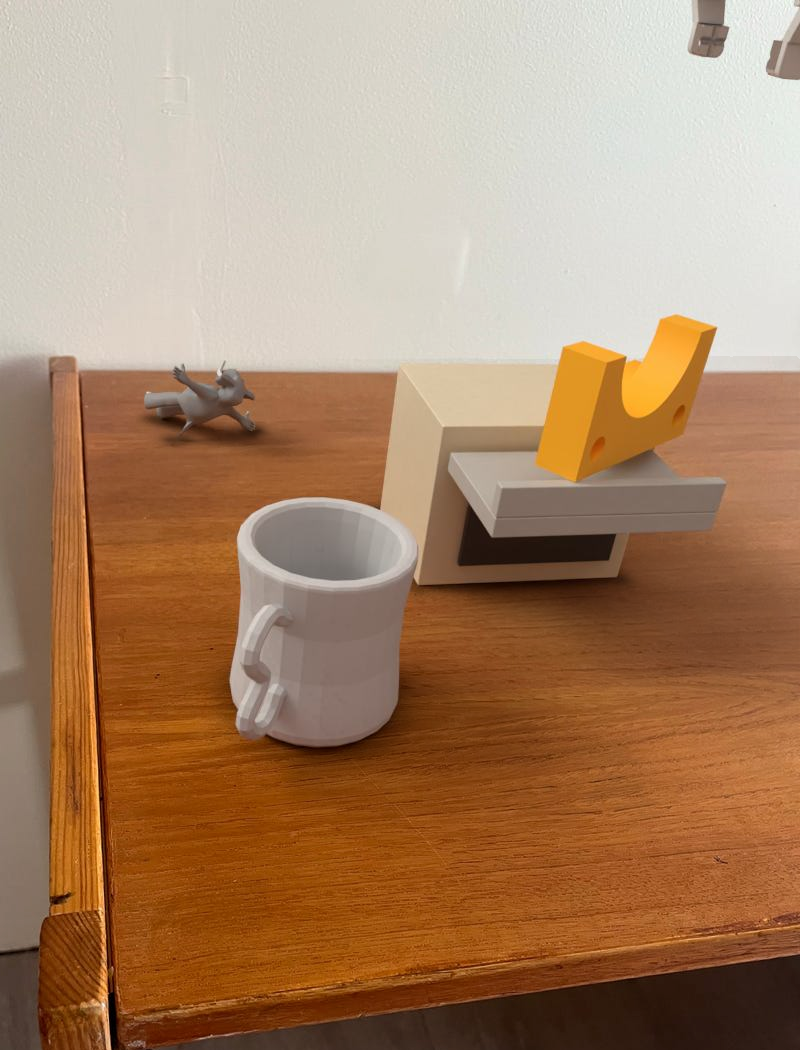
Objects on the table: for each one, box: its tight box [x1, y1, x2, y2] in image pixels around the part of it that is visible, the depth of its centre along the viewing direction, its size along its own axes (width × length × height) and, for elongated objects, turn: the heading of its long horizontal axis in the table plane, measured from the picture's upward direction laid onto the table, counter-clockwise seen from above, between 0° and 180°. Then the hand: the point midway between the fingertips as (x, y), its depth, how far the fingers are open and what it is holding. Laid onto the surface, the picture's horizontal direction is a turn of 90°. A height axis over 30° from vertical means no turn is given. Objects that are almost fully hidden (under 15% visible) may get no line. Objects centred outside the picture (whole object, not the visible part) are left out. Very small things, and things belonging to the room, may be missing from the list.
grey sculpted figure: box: [143, 360, 256, 440], centre depth 81 cm, size 10×6×9 cm
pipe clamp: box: [535, 313, 718, 482], centre depth 57 cm, size 12×4×6 cm, turn 135°
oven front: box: [379, 362, 728, 586], centre depth 65 cm, size 14×18×11 cm
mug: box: [229, 496, 419, 748], centre depth 52 cm, size 12×9×10 cm
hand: (741, 66), depth 63 cm, fingers open, 8 cm apart
